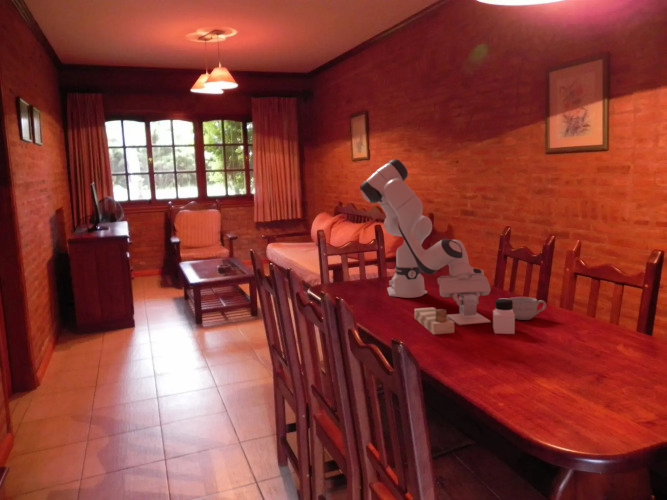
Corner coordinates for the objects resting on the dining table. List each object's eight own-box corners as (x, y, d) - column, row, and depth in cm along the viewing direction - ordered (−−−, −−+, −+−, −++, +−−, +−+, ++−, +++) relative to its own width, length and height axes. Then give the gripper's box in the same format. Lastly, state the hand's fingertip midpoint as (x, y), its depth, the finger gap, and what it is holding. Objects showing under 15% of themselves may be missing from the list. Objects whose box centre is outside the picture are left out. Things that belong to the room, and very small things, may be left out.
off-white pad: (446, 315, 219) (446, 314, 219) (476, 313, 221) (476, 312, 221) (459, 324, 206) (459, 323, 206) (490, 322, 209) (490, 320, 209)
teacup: (505, 320, 210) (506, 300, 209) (510, 313, 220) (511, 294, 218) (543, 324, 204) (544, 303, 202) (546, 316, 213) (547, 297, 212)
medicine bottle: (515, 334, 193) (515, 302, 191) (494, 333, 195) (494, 301, 193) (512, 328, 200) (513, 297, 198) (492, 327, 201) (493, 296, 200)
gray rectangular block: (459, 312, 215) (459, 293, 214) (470, 311, 216) (471, 292, 215) (464, 316, 211) (464, 296, 209) (476, 315, 211) (476, 295, 210)
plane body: (414, 318, 217) (414, 299, 216) (433, 316, 219) (433, 297, 217) (433, 334, 196) (433, 313, 195) (454, 332, 197) (454, 311, 196)
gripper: (437, 272, 217) (443, 301, 209) (487, 269, 218) (495, 298, 210) (435, 280, 222) (441, 309, 214) (483, 278, 223) (491, 307, 215)
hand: (468, 304), depth 212 cm, fingers closed on gray rectangular block, 5 cm apart
